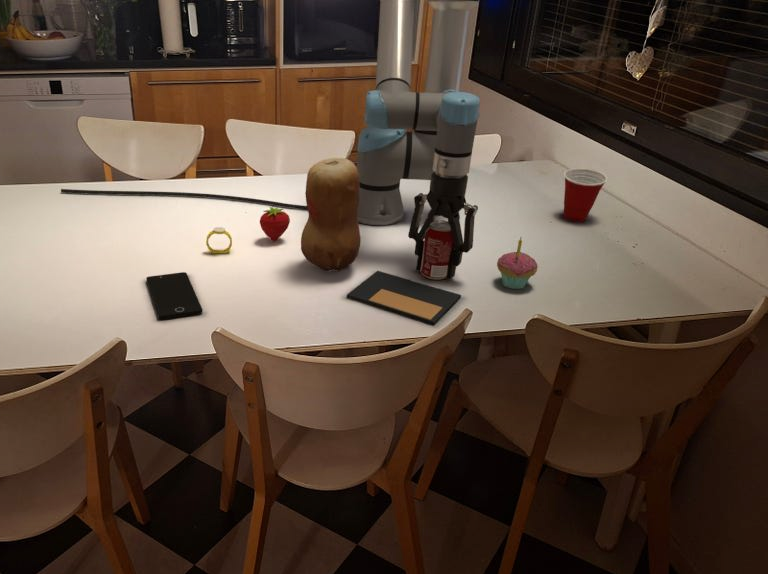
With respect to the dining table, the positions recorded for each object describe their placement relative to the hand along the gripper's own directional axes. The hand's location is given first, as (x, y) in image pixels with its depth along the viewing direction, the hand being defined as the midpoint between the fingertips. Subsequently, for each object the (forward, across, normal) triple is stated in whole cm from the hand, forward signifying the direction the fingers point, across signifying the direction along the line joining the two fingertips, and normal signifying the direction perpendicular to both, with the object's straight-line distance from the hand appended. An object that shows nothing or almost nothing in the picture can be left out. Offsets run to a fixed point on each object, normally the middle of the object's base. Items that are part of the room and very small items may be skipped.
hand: (435, 273), depth 154 cm
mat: (+1, -1, -14) cm, 14 cm away
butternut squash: (+1, -21, -11) cm, 24 cm away
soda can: (+1, 0, 0) cm, 1 cm away
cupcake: (+1, +16, +6) cm, 17 cm away
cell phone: (+1, -41, -42) cm, 59 cm away
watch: (+1, -47, -19) cm, 51 cm away
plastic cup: (+1, +17, +54) cm, 57 cm away
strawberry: (+1, -40, -6) cm, 40 cm away
